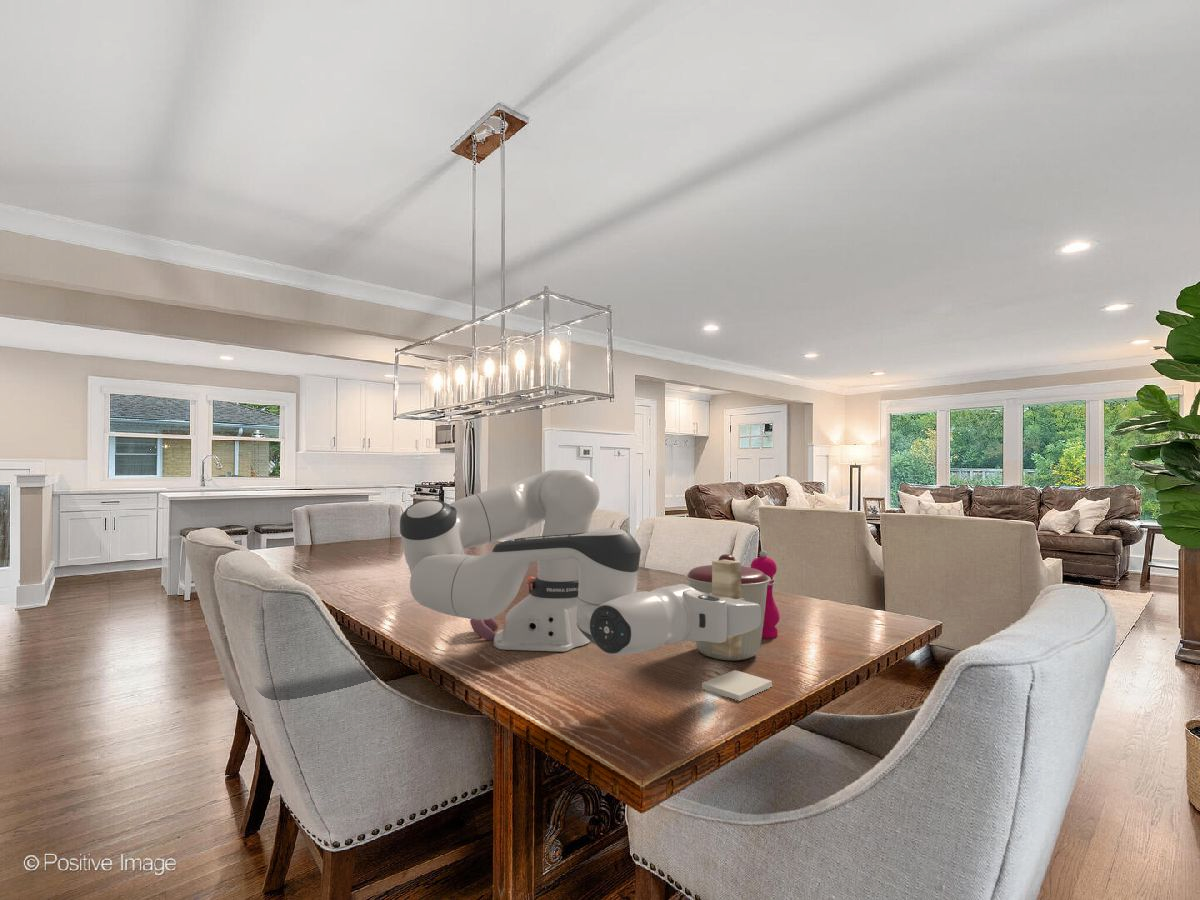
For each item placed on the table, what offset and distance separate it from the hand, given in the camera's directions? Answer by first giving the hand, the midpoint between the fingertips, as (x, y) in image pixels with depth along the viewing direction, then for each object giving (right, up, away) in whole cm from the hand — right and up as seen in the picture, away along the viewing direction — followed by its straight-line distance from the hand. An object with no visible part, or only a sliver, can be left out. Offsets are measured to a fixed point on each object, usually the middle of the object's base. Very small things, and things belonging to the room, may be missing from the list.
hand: (729, 600), depth 106 cm
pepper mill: (+16, -17, +35) cm, 42 cm away
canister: (+4, -17, +21) cm, 27 cm away
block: (-1, -9, -1) cm, 9 cm away
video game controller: (-51, -17, +34) cm, 63 cm away
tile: (-2, -16, -2) cm, 17 cm away
